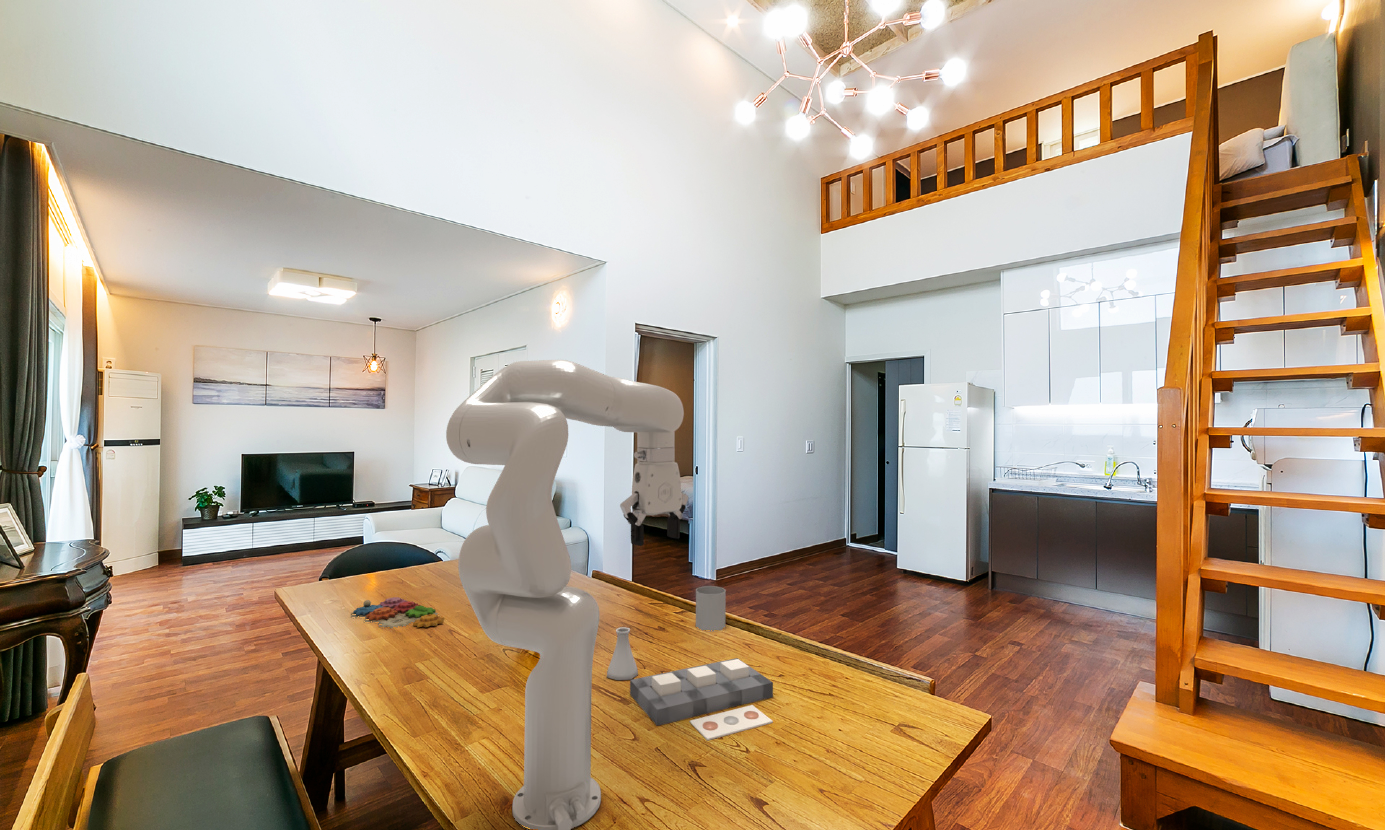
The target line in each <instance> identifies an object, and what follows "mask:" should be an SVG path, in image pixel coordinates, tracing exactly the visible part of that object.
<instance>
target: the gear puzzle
mask: <svg viewBox="0 0 1385 830" xmlns="http://www.w3.org/2000/svg"><path fill="white" fill-rule="evenodd" d="M436 611H437V610H436V609H435V608H433V607H426V606H424V605H421V604H419V603H417V602H415V601H409V600H405V599H404V598H402V597H397V596H394V597H388V598H385V600H384V601H381V602H380V603H378V604H377V605H376V604H372V602H371V600H370V599H367V600H364V601H363V606H359V607H357V608H356V609H354V610H353V612H351V613H350V616H351V617H358V616H359V617H365V619H369V620H364V619H363V622H364V621H365V622H370V623H373V622H379V623H378V626H379V627H384V628H387V627H390V628H389V629H391V628H392V629H394V628H393V627H396V628H399V627H402V628H404V627H403V626H405V627H407V626H406V625H408V624H409V623H410V624H412V626H414V627H417V628H422V627H424V628H429V627H430V626H434V627H436V626H438V624H443V623H444V621H445V617H443V616H440V615H439V613H438V612H436ZM351 614H356V615H351ZM437 614H438V615H437ZM351 617H350V618H351ZM371 621H372V622H371ZM365 622H364V623H365ZM411 622H413V623H411ZM379 624H382V625H379ZM378 626H377V627H378ZM398 626H399V627H398ZM408 626H409V625H408ZM379 627H378V628H379Z"/></svg>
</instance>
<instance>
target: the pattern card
mask: <svg viewBox="0 0 1385 830" xmlns="http://www.w3.org/2000/svg"><path fill="white" fill-rule="evenodd" d="M689 723H690V725H691V726H693V727H694V728H695V729H696V731H698V733H700V735H701V736H702V737H703V738H705V740H706V741H711V740H715V739H718V738H721V737H725V736H729V735H732V734H736V733H739V732H743V731H746V730H751V729H755V728H757V727H758V728H759V727H761V726H765V725H769V724H772V723H774V722H773V719H771V718H769V717H768V716H767V715H766V714H765V713H764V712H763V711H761V710H760V709H758V708H757V707H755V705H753V704H751V705H746V706H743V707H739V708H735V709H732V710H727V711H723V712H719V713H715V714H711V715H706V716H704V717H699V718H695V719H692V720H691V719H690V720H689Z"/></svg>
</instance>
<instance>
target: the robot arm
mask: <svg viewBox="0 0 1385 830" xmlns="http://www.w3.org/2000/svg"><path fill="white" fill-rule="evenodd" d="M684 415H685V412H684V406H683V402H682V400H681V398H680V397H679V395H677V394H676V393H675V392H673V391H671V390H669V389H668V388H666V387H662V386H659V385H655V384H650V383H645V382H638V381H634V380H630V379H625V378H621V377H614V376H609V375H606V374H604V373H601V372H598V371H596V370H594V369H591V368H590V367H587V366H584V365H581V364H579V363H577V362H574V361H571V360H567V359H565V360H564V359H543V360H520V361H515V362H514V361H513V362H512V363H509V364H508V365H506V366H504V367H503V368H501V369H500V370H499V371H497V372H495V373H494V374H493V375H492V376H491V377H489V378H488V380H486V381H485V382H483V384H482V385H481V386H479V387H478V388H477V389H475V391H474V392H472V394H471V395H469V396H468V397H467V398H466V399H464V400H463V401H462V402H461V403H460V404H459V406H457V407H456V409H455V410H454V411H453V413H452V414H451V416H450V418H449V420H448V423H447V426H446V431H445V432H446V433H445V436H446V437H445V438H446V442H447V446H448V449H449V450H450V452H451V453H452V455H453V456H455V457H456V458H457V459H458V460H461V461H463V462H464V463H468V464H472V465H487V466H488V465H489V466H504V467H503V469H502V470H501V472H500V475H499V477H498V479H497V481H496V482H495V483H494V486H493V487H492V490H491V492H490V494H489V496H488V498H487V501H486V506H485V511H486V512H485V514H486V519H487V523H488V524H487V525H482V526H480V527H477V528H476V529H475V530H472V532H470V533H469V534H468V536H467V537H466V538H465V539H464V541H463V542H462V545H461V547H460V550H459V555H458V563H457V564H458V565H457V566H458V567H457V568H458V570H457V571H458V576H459V580H460V584H461V585H462V588H463V590H464V592H465V595H466V597H467V599H468V601H469V604H470V606H471V608H472V610H473V611H474V614H475V617H476V618H477V621H478V622H479V625H480V626H481V629H482V630H483V632H484V633H485V635H486V636H487V638H489V639H490V640H491V641H492V642H493V643H496V644H498V645H501V646H505V647H511V648H516V649H521V650H522V649H523V650H527V651H531V652H534V653H538V654H539V660H538V662H537V664H536V665H535V666H534V668H533V669H532V670H531V672H530V673H529V676H528V677H527V681H526V684H525V691H524V698H525V699H524V704H525V705H524V751H523V752H524V757H523V759H524V761H523V762H524V763H523V767H524V769H523V785H522V786H521V788H520V789H519V790H518V791H517V792H516V793H515V795H514V797H513V800H512V810H511V811H512V816H513V818H515V819H514V821H515V822H516V821H517V822H518V823H519V824H521V825H523V826H525V827H528V828H530V829H538V830H571V829H574V827H575V828H577V827H579V826H581V825H583V824H584V823H586V822H587V821H589V820H590V819H591V818H592V817H593V816H594V815H595V814H596V813H597V811H598V810H599V808H600V806H601V801H602V800H601V799H602V792H601V791H602V790H601V786H600V784H599V783H598V782H597V780H595V779H594V778H593V777H591V771H592V769H591V767H592V764H591V763H592V762H591V761H592V755H591V754H592V751H591V749H592V692H593V691H592V685H593V684H592V683H593V681H592V680H593V679H592V678H593V664H594V662H593V661H594V654H595V653H594V651H595V646H596V641H597V634H598V630H599V624H600V616H601V615H600V607H599V605H598V602H597V600H596V598H594V596H593V595H591V593H589V592H588V591H585V590H583V589H581V588H579V587H574V586H570V585H569V586H568V583H569V582H570V580H571V575H572V562H571V557H570V553H569V551H568V548H567V544H566V541H565V539H564V535H563V533H562V532H563V531H562V529H561V527H560V523H559V521H558V517H557V514H556V511H555V508H554V504H553V499H552V498H553V496H552V495H553V494H552V493H553V485H554V482H555V478H556V476H557V472H558V469H559V468H560V467H559V466H560V464H561V461H562V459H563V456H564V454H565V452H566V449H567V446H568V441H569V424H568V421H567V419H568V420H572V421H578V422H581V423H586V424H588V425H593V426H599V427H611V428H612V427H613V428H614V429H615V430H617V431H619V432H623V433H636V434H637V442H636V443H637V450H636V451H635V452H634V454H633V456H634V458H635V459H637V461H636V462H637V463H635V465H634V470H633V476H632V482H631V483H632V484H631V495H629V497H627V498H626V499H625V500H624V501H622V502H621V503H620V505H619V507H620V510H621V511H622V513H623V517H624V519H626V521H627V523H628V524H629V525H630V543H631V545H635V546H638V547H643V546H644V543H645V542H644V541H645V538H644V536H645V535H644V534H645V530H644V529H645V528H644V525H643V524H642V523H643V522H644V520H645V518H646V516H657V515H662V514H667V515H668V517H667V520H666V534H667V535H666V536H667V537H669V538H671V539H675V540H676V539H677V540H678V539H680V536H681V534H680V529H681V524H680V523H681V522H680V521H681V519H682V518H683V514H684V512H685V511H686V509H687V508H686V505H687V503H688V500H689V495H687V494H685V493H684V492H682V481H681V474H680V473H681V472H680V469H679V465H678V462H675V458H676V457H675V439H676V438H675V436H676V435H675V432H676V431H677V430H678V429H679V428H680V427H681V425H682V423H683V420H684ZM517 822H516V823H517ZM518 823H517V824H518ZM519 824H518V825H519ZM521 825H520V826H521Z"/></svg>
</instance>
